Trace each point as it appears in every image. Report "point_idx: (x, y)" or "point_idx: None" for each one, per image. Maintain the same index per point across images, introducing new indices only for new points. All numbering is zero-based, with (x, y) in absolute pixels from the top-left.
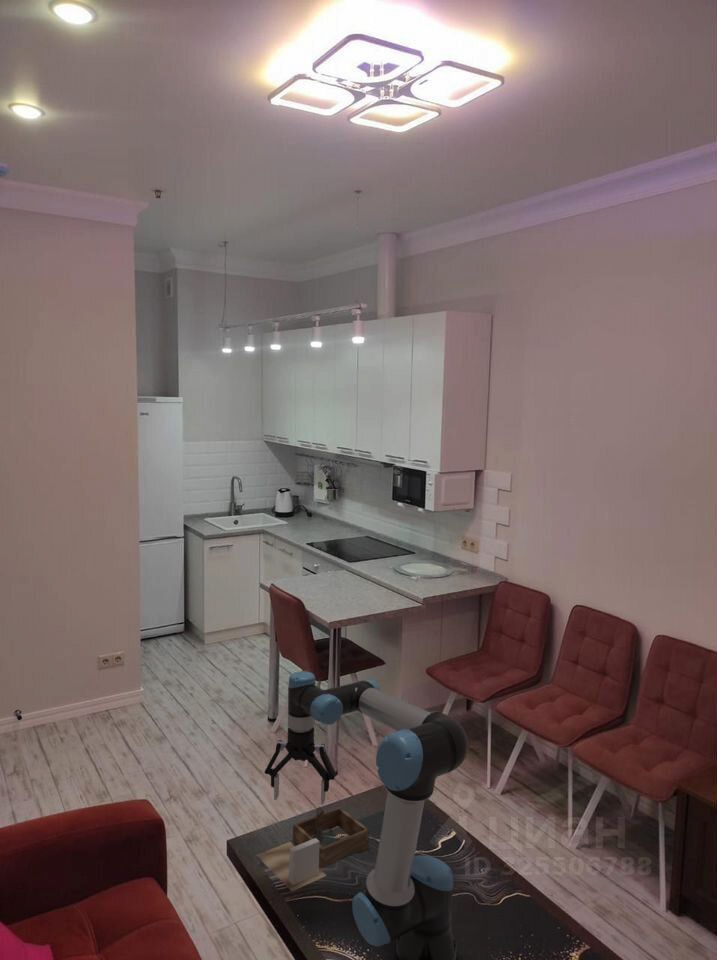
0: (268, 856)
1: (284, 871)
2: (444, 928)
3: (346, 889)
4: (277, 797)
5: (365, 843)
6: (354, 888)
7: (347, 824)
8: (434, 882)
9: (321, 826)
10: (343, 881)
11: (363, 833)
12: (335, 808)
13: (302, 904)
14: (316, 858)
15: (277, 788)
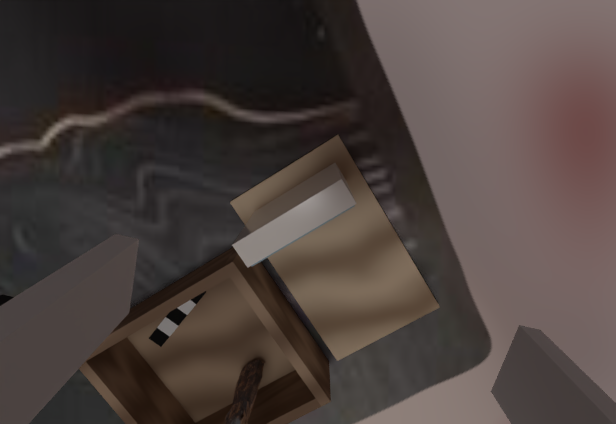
0: (403, 299)
1: (357, 228)
2: None
3: (171, 144)
4: (510, 355)
5: None
6: (147, 147)
7: (157, 410)
8: None
9: (236, 394)
10: (180, 180)
11: None
12: None
13: (306, 82)
14: (253, 221)
15: (563, 411)
